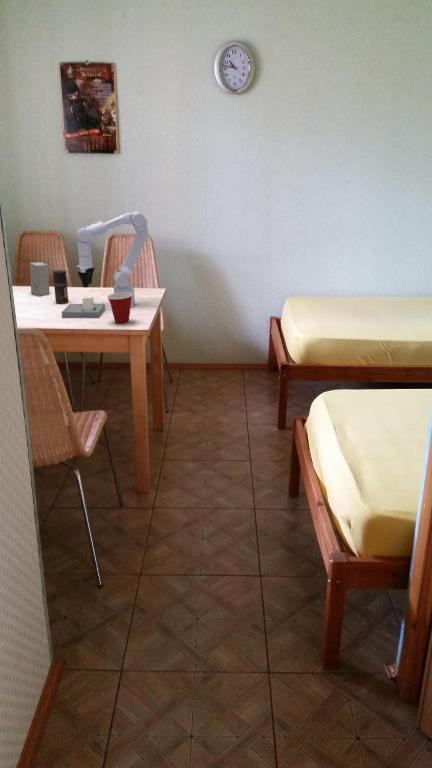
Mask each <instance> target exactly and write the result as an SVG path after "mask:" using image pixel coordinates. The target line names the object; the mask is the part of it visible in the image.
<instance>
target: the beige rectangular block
mask: <svg viewBox="0 0 432 768" xmlns="http://www.w3.org/2000/svg"><path fill="white" fill-rule="evenodd" d="M81 299H82V304H83V311H94V304H95V302H94V296H89V295H88V296H83V297H82V298H81Z"/></svg>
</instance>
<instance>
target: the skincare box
mask: <svg viewBox="0 0 432 768" xmlns="http://www.w3.org/2000/svg"><path fill="white" fill-rule="evenodd" d="M49 269H50V268H49V264H47V263H45V262H41V261H39V262H38V261H37V262H30V263H29V274H30V275H29V276H30V278H29V279H30V294H31V295H33V296H37V297H44V296H50V295H51V294H50V272H49V271H50V270H49Z"/></svg>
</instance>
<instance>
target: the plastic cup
mask: <svg viewBox="0 0 432 768" xmlns="http://www.w3.org/2000/svg"><path fill="white" fill-rule="evenodd" d="M132 295H133V294H132V293H127V292H124V293H115V294H114V293H112V294H109V295H107V296H106V298H107V299H108V301H109V304H110V308H111V312H112V315H113V319H114V322H115V324H119V325H121V324H127V323H129V321H130V314H131V308H132V307H131V299H132Z"/></svg>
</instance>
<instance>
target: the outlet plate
mask: <svg viewBox="0 0 432 768" xmlns="http://www.w3.org/2000/svg"><path fill="white" fill-rule="evenodd" d="M105 310H106V304H105V303H94V311H83V303H68V305H67V306H66V307H65V308H64V309H63V310H62V311H61V319H99V318H100V317H101V315H103V312H104V311H105Z"/></svg>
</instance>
